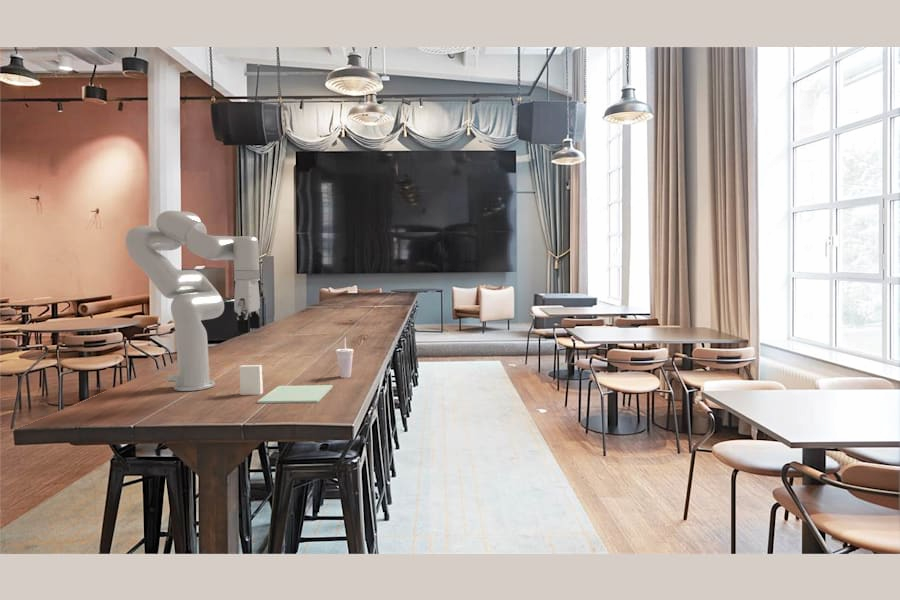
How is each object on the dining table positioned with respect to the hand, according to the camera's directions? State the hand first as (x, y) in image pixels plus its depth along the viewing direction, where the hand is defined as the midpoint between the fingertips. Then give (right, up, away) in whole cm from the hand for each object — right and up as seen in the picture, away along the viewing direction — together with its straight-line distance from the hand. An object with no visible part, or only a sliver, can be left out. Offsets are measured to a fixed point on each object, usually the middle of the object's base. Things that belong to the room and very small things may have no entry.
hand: (249, 330), depth 183 cm
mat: (+15, -20, -1) cm, 25 cm away
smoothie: (+26, -18, +25) cm, 40 cm away
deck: (0, -20, +1) cm, 20 cm away
